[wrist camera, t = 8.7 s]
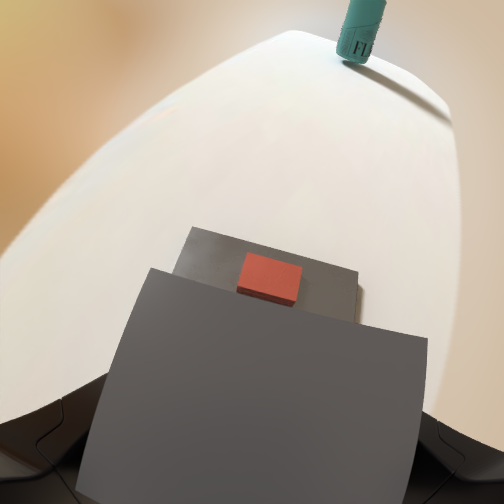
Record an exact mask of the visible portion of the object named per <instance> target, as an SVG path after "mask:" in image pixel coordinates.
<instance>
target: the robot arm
mask: <svg viewBox="0 0 504 504" xmlns="http://www.w3.org/2000/svg"><path fill="white" fill-rule="evenodd" d="M108 373H109V372H108ZM108 373H106V374H104V375H102V376H100V377H99V378H97V379H95V380H93V381H91V382H90V383H88V384H86V385H84V386H82V387H80V388H79V389H77V390H75V391H73V392H71V393H69V394H67V395H66V396H64V397H62V400H61V399H58V400H56V401H54V402H52V403H50V404H48V405H46V406H44V407H42V408H40V409H38V410H36V411H33V412H31V413H29V414H26V415H24V416H21V417H19V418H16V419H13V420H10V421H8V422H5V423H2V424H0V504H101V503H99V502H97V501H95V500H93V499H91V498H89V497H87V496H85V495H83V494H82V493H80V492H78V491H76V490H75V488H76V483H77V479H78V474H79V470H80V466H81V462H82V458H83V454H84V450H85V446H86V443H87V439H88V436H89V432H90V429H91V425H92V422H93V418H94V415H95V412H96V409H97V405H98V402H99V399H100V396H101V393H102V390H103V387H104V384H105V381H106V378H107V375H108ZM402 504H504V452H502V451H499V450H497V449H495V448H492V447H490V446H488V445H485V444H483V443H481V442H479V441H476V440H474V439H472V438H470V437H468V436H466V435H464V434H462V433H459V432H458V431H456V430H454V429H452V428H450V427H449V426H447V425H445V424H443V423H442V422H440V421H437V419H435V418H433V417H432V416H430V415H428V414H427V413H425V412H423V411H422V415H421V422H420V429H419V435H418V440H417V445H416V450H415V455H414V460H413V464H412V469H411V473H410V477H409V481H408V484H407V488H406V492H405V495H404V498H403V502H402Z"/></svg>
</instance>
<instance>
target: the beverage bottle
mask: <svg viewBox="0 0 504 504" xmlns="http://www.w3.org/2000/svg"><path fill="white" fill-rule="evenodd" d="M385 5H386V0H350V4H349V7H348V11H347V15H346V19H345V22H344V25H343V28H342V32H341V35H340V38H339V41H338V42H337V44H338V45H337V49H336V53H337V54H338V55H339V56H341V57H343V58H345V59H347V60H349V61H352V62H355V63H360V64H365V63H366V62H367V60H368V59H369V58H368V57H369V56H370V53H371V51H372V50H371V49H372V45H373V44H374V43H373V42H374V40H375V37H376V34H377V31H378V28H379V24H380V21H381V20H382V19H381V18H382V15H383V11H384V8H385Z"/></svg>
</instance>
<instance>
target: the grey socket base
mask: <svg viewBox="0 0 504 504" xmlns="http://www.w3.org/2000/svg"><path fill="white" fill-rule="evenodd" d="M172 274H173V275H177V276H180V277H183V278H187V279H190V280H193V281H197V282H200V283H203V284H207V285H210V286H214V287H217V288H221V289H224V290H228V291H231V292H235V293H238V294H242V295H246V296H249V297H253V298H257V299H260V300H264V301H268V302H272V303H275V304H279V305H283V306H287V307H291V308H295V309H299V310H303V311H307V312H311V313H315V314H319V315H323V316H327V317H331V318H336V319H340V320H344V321H348V322H353V323H354V318H355V308H356V297H357V285H358V272H357V271H353V270H350V269H346V268H342V267H339V266H335V265H332V264H328V263H325V262H321V261H317V260H314V259H310V258H307V257H303V256H299V255H296V254H292V253H288V252H285V251H281V250H278V249H274V248H270V247H267V246H263V245H259V244H256V243H252V242H248V241H245V240H241V239H237V238H234V237H230V236H226V235H222V234H219V233H215V232H211V231H208V230H204V229H200V228H196V227H193V226H192V228H191V231H190V233H189V235H188V237H187V240H186V242H185V244H184V247H183V249H182V251H181V253H180V256H179V258H178V261H177V263H176V265H175V268H174V270H173V272H172Z"/></svg>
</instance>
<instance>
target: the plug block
mask: <svg viewBox="0 0 504 504" xmlns="http://www.w3.org/2000/svg"><path fill="white" fill-rule="evenodd" d="M427 344H428V338H423V337H418V336H413V335H408V334H403V333H398V332H394V331H389V330H384V329H380V328H375V327H370V326H366V325H362V324H357V323H353V322H348V321H344V320H340V319H336V318H331V317H327V316H323V315H319V314H315V313H311V312H307V311H303V310H299V309H295V308H291V307H287V306H283V305H279V304H275V303H272V302H268V301H264V300H260V299H257V298H253V297H249V296H246V295H242V294H238V293H235V292H231V291H228V290H224V289H221V288H217V287H214V286H210V285H207V284H203V283H200V282H197V281H193V280H190V279H187V278H183V277H180V276H177V275H173V274H170V273H167V272H164V271H160V270H157V269H154V268H151V269H150V271H149V273H148V275H147V277H146V280H145V282H144V284H143V286H142V289H141V291H140V293H139V296H138V298H137V300H136V303H135V305H134V308H133V310H132V312H131V315H130V317H129V320H128V322H127V325H126V327H125V330H124V332H123V335H122V337H121V340H120V343H119V345H118V348H117V350H116V353H115V356H114V359H113V361H112V364H111V367H110V370H109V373H108V375H107V378H106V381H105V384H104V387H103V390H102V393H101V396H100V399H99V402H98V405H97V409H96V412H95V415H94V418H93V422H92V425H91V429H90V432H89V436H88V439H87V443H86V446H85V450H84V454H83V458H82V462H81V466H80V470H79V474H78V479H77V483H76V488H75V490H76V491H78V492H80V493H82V494H83V495H85V496H87V497H89V498H91V499H93V500H95V501H97V502H99V503H101V504H402V502H403V498H404V495H405V492H406V488H407V484H408V481H409V477H410V473H411V469H412V464H413V460H414V455H415V450H416V445H417V440H418V435H419V429H420V422H421V415H422V408H423V400H424V391H425V380H426V366H427Z"/></svg>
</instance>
